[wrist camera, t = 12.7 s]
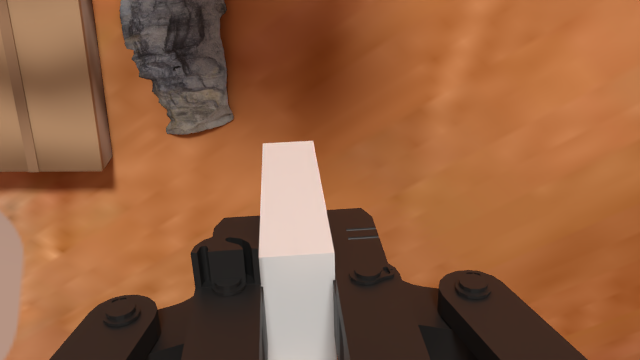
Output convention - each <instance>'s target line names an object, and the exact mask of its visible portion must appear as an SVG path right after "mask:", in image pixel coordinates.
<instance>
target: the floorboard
mask: <svg viewBox="0 0 640 360" xmlns="http://www.w3.org/2000/svg"><path fill="white" fill-rule="evenodd" d="M111 158H112V148H111V141H110V133H109V126H108V118H107V111H106V103H105V96H104V88H103V81H102V73H101V66H100V58H99V51H98V43H97V35H96V28H95V20H94V13H93V5H92V0H0V172H53V171H103V170H104V168H105V167H106V165H107V164H108V162H109V161H110V159H111Z"/></svg>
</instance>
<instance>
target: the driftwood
mask: <svg viewBox="0 0 640 360" xmlns="http://www.w3.org/2000/svg"><path fill="white" fill-rule="evenodd" d="M226 10H227V9H226V4H225V2H224V0H121V6H120V19H121V23H122V31H123V36H124V40H125V46H126V47H127V49H131V50H134V55H133V57H132V60H133V61H134V62H135V63H136V65H137V68H138V69H139V72H140V73H139V77H141V78H145V79H150V80H152V82H153V89H152V92H154V94H155V95H156V96H157V97H158V98H159V103H160V104H161V105H162V106H163V107H165V108H166V109H167V115H168V117H169V118H170V119H171V122H170V123H169V125H168V126H167V128H166V132H167V134H169V133H170V134H178V135H180V134H183V135H184V134H189V133H195V132H199V131H204V130H205V129H212V128H214V127H219V126H221V125H224V124H226V123H227V122H230V121H231V120H233V117H234V116H233V113H232V111H231V110H230V109H229V108H230V107H229V105H228V97H227V89H226V88H227V87H226V83H227V82H226V80H227V72H226V71H227V68H226V61H225V57H224V48H223V46H222V41H221V38H220V18H221V16H222V15H223V14H225V12H226Z"/></svg>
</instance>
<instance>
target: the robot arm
mask: <svg viewBox="0 0 640 360" xmlns="http://www.w3.org/2000/svg"><path fill="white" fill-rule="evenodd" d="M191 259H192V266H193V273H194V281H195V293H194V296H193V297H191V298H190V299H188V300H186V301H184V302H182V303H179V304H176V305H173V306H170V307H166V308H163V309H159V310H157V307H156V304H155V302H154V301H153V300H151V299H150V298H148V297H145V296H140V295H124V296H119V297H115V298H112V299H109V300H107V301H105V302H103V303H101V304H99V305H98V306H97V307H95V308H94V309H93V310H92V311H91V312H90V313H89V314H88V315H87V316H86V317H85V318H84V320H83V321H82V322H81V323H80V324H79V325H78V327H77V328H76V329H75V330H74V331H73V333H72V334H71V335H70V336H69V337H68V338H67V340H66V341H65V342H64V343H63V344H62V345H61V347H60V348H59V349H58V350H57V351H56V353H55V354H54V355H53V356H52V357H51V358H50V360H337V357H338V360H587V359H586V358H585V357H584V356H583V355H582V354H581V353H580V352H579V351H577V350H576V349H575V348H574V347H573V346H572V345H571V344H570V343H569V342H568V341H566V340H565V339H564V338H563V337H562V336H561V335H560V334H559V333H558V332H557V331H555V330H554V329H553V328H552V327H551V326H550V325H549V324H548V323H547V322H546V321H544V320H543V319H542V318H541V317H540V316H539V315H538V314H537V313H536V312H535V311H533V310H532V309H531V308H530V307H529V306H528V305H527V304H526V303H525V302H524V301H522V300H521V299H520V298H519V297H518V296H517V295H516V294H515V293H514V292H513V291H511V290H510V289H509V288H508V287H507V286H506V285H505V284H504V283H503V282H501V281H500V280H498V279H497V278H495V277H494V276H492V275H489V274H486V273H483V272H479V271H472V270H465V271H455V272H453V273H450V274H447V275H445V276H444V277H443V278H442V279H441V280H440V283H439V289H437V288H429V287H422V286H417V285H413V284H410V283H407V282H404V281H403V280H402V279H401V276H400V274H399V272H398V271H397V270H396V268H395V267H393V266H391V265H390V264H388V262H387V259H386V256H385V253H384V250H383V247H382V245H381V242H380V239H379V237H378V233H377V230H376V227H375V224H374V221H373V218H372V216H370V215H369V214H368V213H367V212H365V211H364V210H363V209H361V208H354V209H338V210H326V206H325V201H324V195H323V190H322V185H321V180H320V175H319V169H318V164H317V159H316V154H315V149H314V143H313V141H300V142H281V143H263V156H262V182H261V209H260V216H247V217H231V218H224V219H223V220H222V221H221V222H220V223H219V224H218V225H217V226H216V227H215V228H214V232H213V237H211V238H209V239H206V240H203V241H202V242H200V243H199V244H197V245H196V246H195V247H194V248H193V250H192V252H191Z"/></svg>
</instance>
